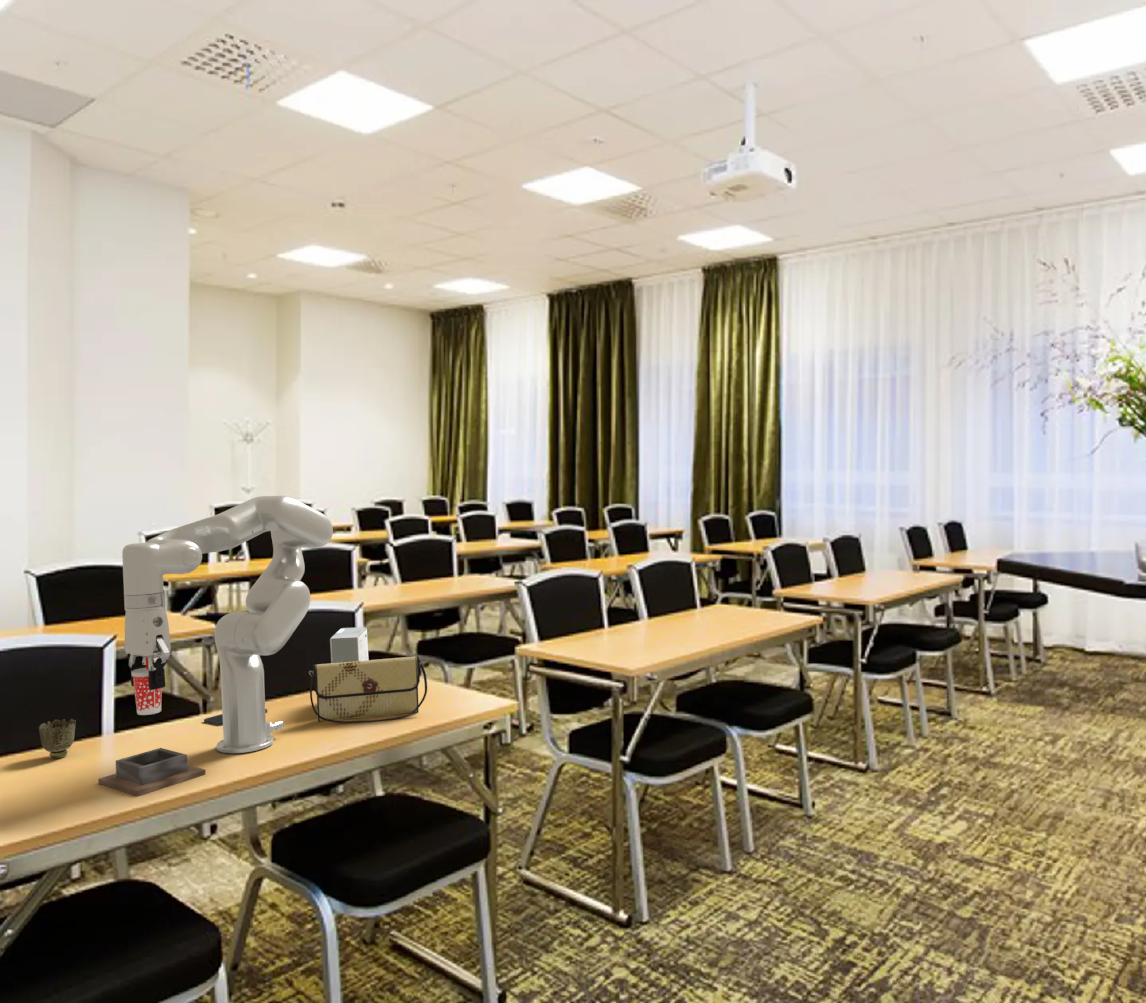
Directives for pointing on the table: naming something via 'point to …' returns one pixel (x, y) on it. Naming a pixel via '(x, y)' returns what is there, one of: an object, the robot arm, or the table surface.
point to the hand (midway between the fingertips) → (148, 685)
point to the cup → (57, 737)
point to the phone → (217, 720)
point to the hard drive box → (349, 645)
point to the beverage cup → (145, 692)
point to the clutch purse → (367, 689)
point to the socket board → (150, 772)
